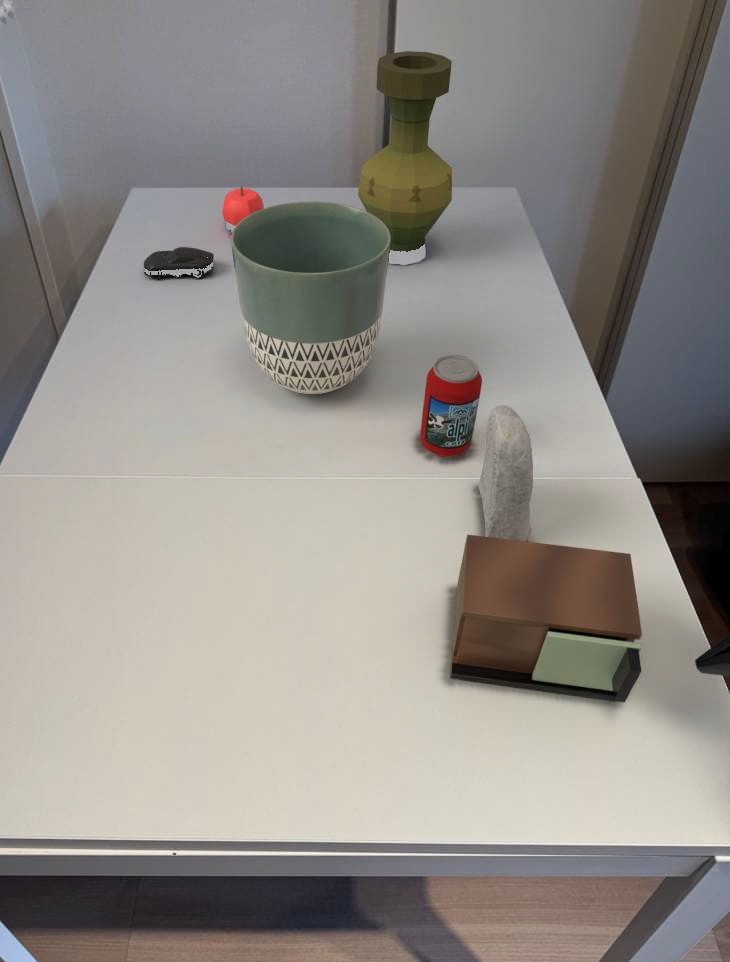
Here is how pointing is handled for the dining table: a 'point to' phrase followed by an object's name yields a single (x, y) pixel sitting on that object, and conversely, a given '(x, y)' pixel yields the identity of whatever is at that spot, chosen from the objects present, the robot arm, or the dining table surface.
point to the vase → (408, 151)
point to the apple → (241, 205)
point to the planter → (311, 291)
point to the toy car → (177, 260)
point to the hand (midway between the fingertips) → (697, 667)
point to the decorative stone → (506, 476)
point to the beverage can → (450, 405)
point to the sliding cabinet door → (589, 663)
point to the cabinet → (536, 608)
